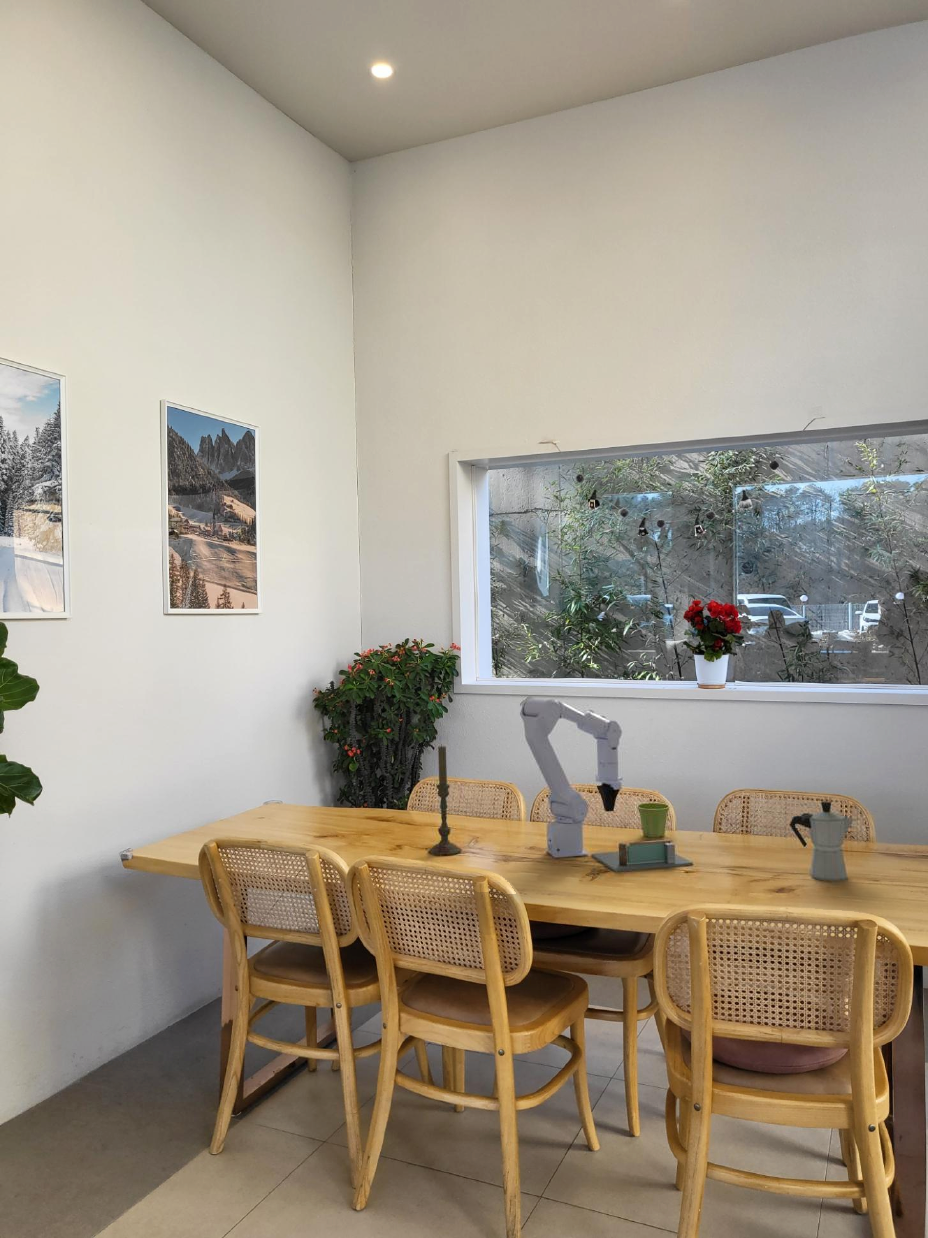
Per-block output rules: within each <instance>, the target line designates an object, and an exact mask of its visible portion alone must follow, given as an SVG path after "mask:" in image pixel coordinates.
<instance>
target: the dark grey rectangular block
mask: <svg viewBox="0 0 928 1238" xmlns="http://www.w3.org/2000/svg"><path fill="white" fill-rule="evenodd" d="M675 854H676V844H675V843H664V856H665V863H667V864H675Z"/></svg>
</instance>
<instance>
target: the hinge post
mask: <svg viewBox="0 0 928 1238" xmlns="http://www.w3.org/2000/svg"><path fill="white" fill-rule="evenodd" d="M627 845H628V844H627V843H626V842H619V843H618V851H619V865H620V866H627Z"/></svg>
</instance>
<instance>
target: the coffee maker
mask: <svg viewBox="0 0 928 1238" xmlns="http://www.w3.org/2000/svg"><path fill="white" fill-rule="evenodd" d="M820 805H821V808H822V811H819V812H813V813H810V812H803V813H802V814H801V815H795V816H793V817H792V818H791V820H790V822H789V826H790V827H791V830H792V831H793V832H794V834H795V835H796V837H797V839H798V840H799V841H800V843H801V845H802V846H803V847H804V848H805V847H806V846H807V845H808V843H807V842H806V840H805V839H804V837H803V836H802V834H801V833H800V831H799V830H798V828H797V827H796V825H799V826H802V827H805V828H808V829H809V834H810V840H811V843H812V844H813V848H812V856H811V862H810V870H809V875H810V877H811V879H814V880H819V881H823V882H842V881H845V880H848V873H847V867H846V863H845V860H844V852H843V850H842V845H843V844H844V843H845V842H844V840H845V835H846V834H847V831H848V830H849V828H850V826H851V824H853V822H854V821H856V820H855V818H850V817H847V816H845V815H841V814H838V813H835V812H832V811H831V806H832V802H831V801H828V800H827V801H826V800H825V801H821V802H820ZM841 880H842V881H841Z"/></svg>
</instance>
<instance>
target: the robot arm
mask: <svg viewBox="0 0 928 1238" xmlns="http://www.w3.org/2000/svg"><path fill="white" fill-rule="evenodd" d="M521 706H522V707H521V708H520V709H521V710H520V712H519V715H520V718H521V719H522V722H523V729H524V736H525V741H526V743H527V744H528V747H529V749H530V751H531V753H532V755H533V758H534V759H535V761H536V764H537V765H538V767H539V770H540V772H541V774H542V776H543V778H544V781H545V783H546V784H547V788H548V790H549V791H550V792H549V793H548V795H547V800H548V805H549V806H548V807H549V812H550V814H551V815H553V819H554V820H555V821H550V822H547V826H546V852H547V853H549V855H551V856H552V857H554V858H556V859H557V858H559V859H560V858H569V857H579V856H582V857H583V856H589V852H587V851H586V850H584V835H583V834H584V831H583V829H584V828H583V822H585V819H586V818H587V815H588V814H589V805H588V802H587V801H586V798H585V799H584V798H583V797H582V796H581V793H580V792H579V791H578V790H576V789H575V788H574V787H573V786H572V785H571V784H570V782H569V780H568V778H567V776H566V774H565V772H564V769H563V767H562V765H561V762H560V761H559V758H558V757H557V754H556V752H555V750H554V748H553V746H552V743H551V741H550V739H549V735H551V733H552V731H553V730H554V729H555V726H556V724H557V722H558V721H559V719H564V720H566V721H569V722H572V723H575V724H576V727H577V729H578V730H580V731H581V732H584V733H587V734H589V735H591V736H593V737H592V738H594V739H595V740H596V751H597V753H596V755H597V757H596V758H597V759H596V760H597V774H595V781H596V782H597V783H601V784H600V785H596V788H597V791H598V793H599V795H600V798H601V800H602V806H603V809H604V812H614V809H615V805H616V800H617V797H618V794H619V792H620V791H621V790H622V788H623V787H622V782H621V781H623V777H621V776H619V756H618V755H619V751H618V747H619V745H620V738H621V736H622V733H623V730H622V729H621V726H620V724H619V723H618V722H617V721H616V720H608V719H607V717H606V716H605V715H598V714H596V713H595V710H593V709H587V710H583V711H582V712H581V711H579V710H577V709H575V708H574V707H572V706H570V705H568V704H566V703H564V702H562V701H560V700H556V699H553V698H549V699H548V698H547V699H545V698H535V697H529V698H528V699H527V700H526V701H524V702H523V703H522V704H521Z"/></svg>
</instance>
